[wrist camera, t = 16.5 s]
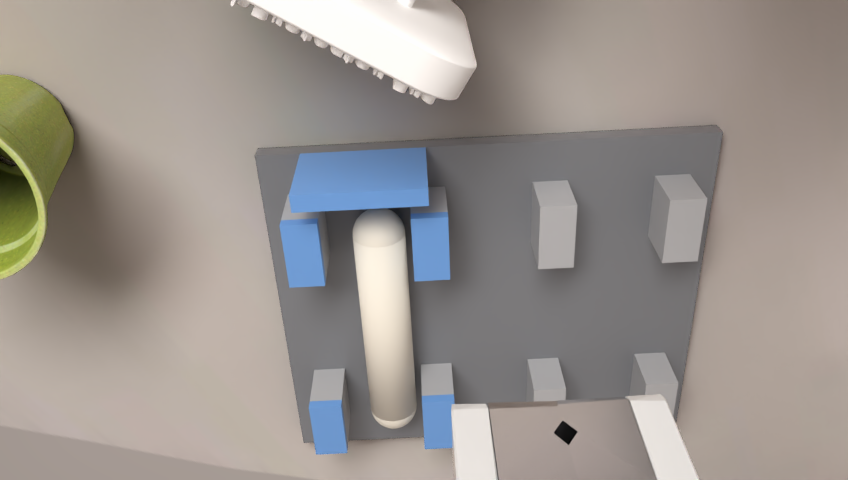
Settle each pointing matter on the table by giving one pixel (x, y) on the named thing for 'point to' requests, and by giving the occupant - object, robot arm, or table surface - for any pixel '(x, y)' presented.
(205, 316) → the table surface
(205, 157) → the table surface
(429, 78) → the cable organizer
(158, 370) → the table surface
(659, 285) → the grey peg board
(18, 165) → the plant pot
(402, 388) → the white capsule
